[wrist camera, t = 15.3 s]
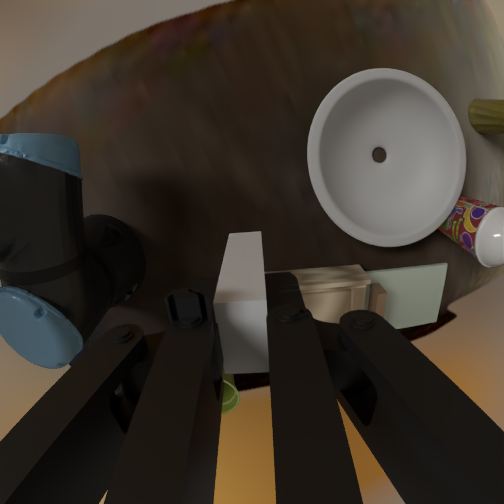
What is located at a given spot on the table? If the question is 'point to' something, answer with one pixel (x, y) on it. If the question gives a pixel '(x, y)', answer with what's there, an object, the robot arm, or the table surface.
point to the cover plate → (406, 294)
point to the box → (332, 290)
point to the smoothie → (477, 230)
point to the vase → (487, 116)
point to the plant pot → (229, 393)
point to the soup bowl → (397, 161)
